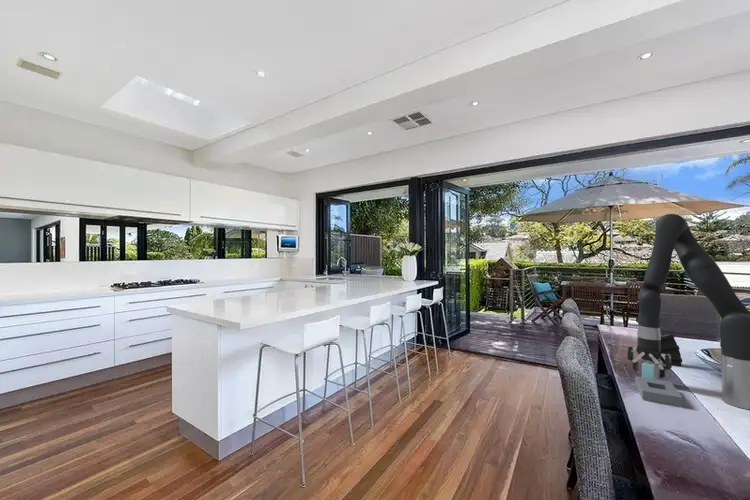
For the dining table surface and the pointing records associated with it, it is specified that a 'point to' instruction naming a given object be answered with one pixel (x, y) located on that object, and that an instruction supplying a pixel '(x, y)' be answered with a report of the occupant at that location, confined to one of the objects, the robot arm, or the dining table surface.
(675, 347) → the black ridged block
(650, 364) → the teal rectangular block
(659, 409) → the dining table surface
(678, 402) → the grey slotted block
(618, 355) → the dining table surface
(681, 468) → the dining table surface
